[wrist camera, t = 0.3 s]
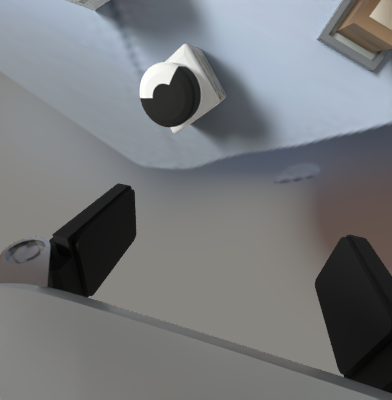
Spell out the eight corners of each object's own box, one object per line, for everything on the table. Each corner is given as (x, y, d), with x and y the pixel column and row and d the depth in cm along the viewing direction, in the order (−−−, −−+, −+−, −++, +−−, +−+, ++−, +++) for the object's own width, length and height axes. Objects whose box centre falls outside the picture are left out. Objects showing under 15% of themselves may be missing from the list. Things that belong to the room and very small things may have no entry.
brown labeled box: (371, -21, 24) (401, -45, 19) (409, 3, 24) (448, -15, 19) (336, 31, 27) (354, 22, 22) (370, 52, 27) (396, 48, 22)
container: (227, 96, 34) (212, 109, 23) (188, 124, 37) (160, 146, 26) (200, 47, 31) (169, 35, 20) (161, 81, 35) (117, 86, 24)
